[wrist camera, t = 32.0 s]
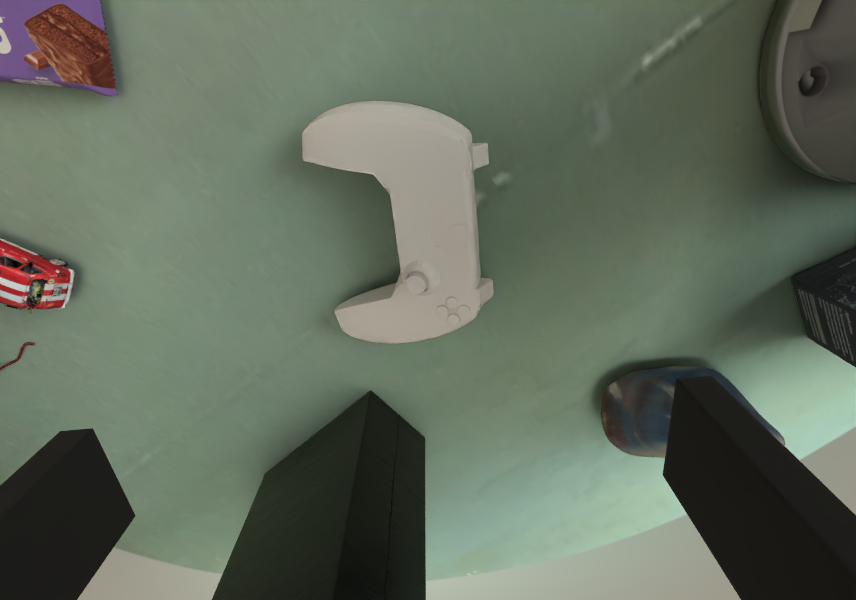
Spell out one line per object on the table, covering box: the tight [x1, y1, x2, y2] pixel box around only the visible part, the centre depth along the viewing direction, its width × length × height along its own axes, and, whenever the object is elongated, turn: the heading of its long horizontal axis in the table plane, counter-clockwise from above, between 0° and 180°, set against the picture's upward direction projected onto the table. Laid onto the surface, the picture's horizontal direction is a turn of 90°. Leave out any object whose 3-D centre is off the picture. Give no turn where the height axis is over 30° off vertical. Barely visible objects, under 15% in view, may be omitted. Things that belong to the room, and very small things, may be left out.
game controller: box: [302, 101, 494, 344], centre depth 27 cm, size 14×4×10 cm
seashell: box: [601, 366, 785, 457], centre depth 32 cm, size 6×9×10 cm
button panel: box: [212, 391, 426, 600], centre depth 29 cm, size 6×12×16 cm, turn 132°
